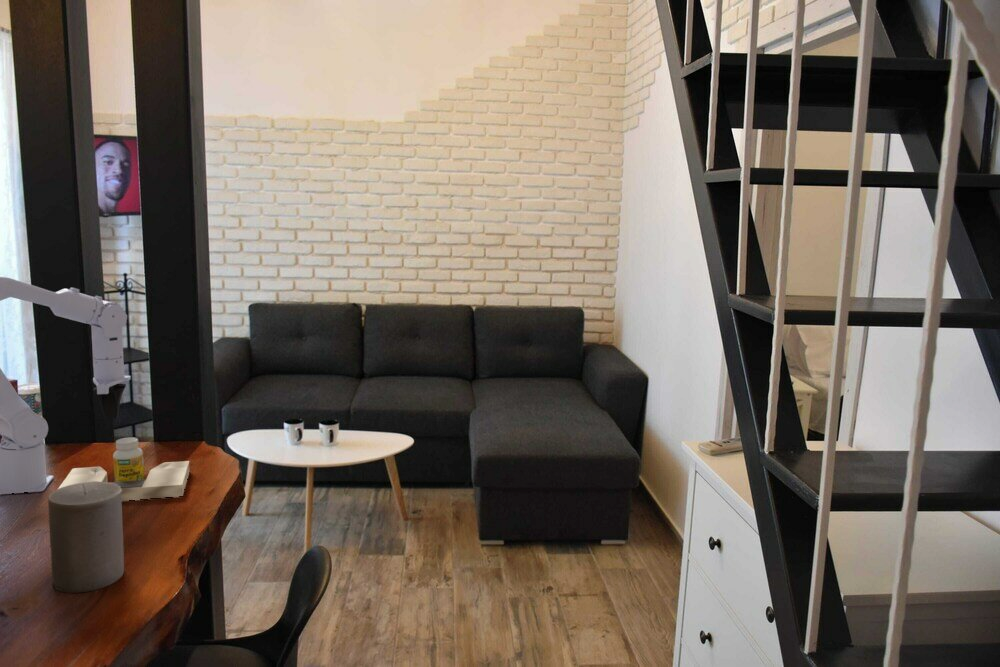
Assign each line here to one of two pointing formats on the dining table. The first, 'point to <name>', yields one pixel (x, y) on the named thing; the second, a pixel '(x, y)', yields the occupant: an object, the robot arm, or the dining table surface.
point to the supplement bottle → (128, 460)
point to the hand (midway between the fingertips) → (111, 418)
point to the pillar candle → (86, 536)
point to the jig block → (140, 481)
